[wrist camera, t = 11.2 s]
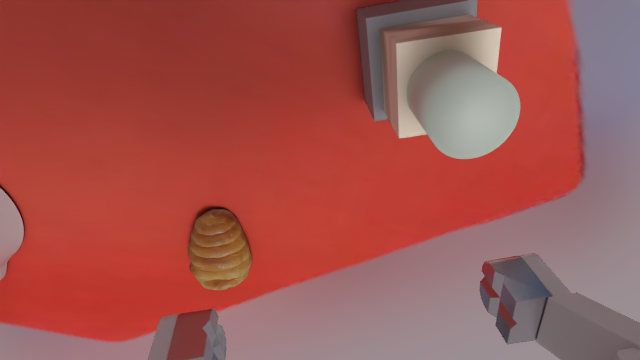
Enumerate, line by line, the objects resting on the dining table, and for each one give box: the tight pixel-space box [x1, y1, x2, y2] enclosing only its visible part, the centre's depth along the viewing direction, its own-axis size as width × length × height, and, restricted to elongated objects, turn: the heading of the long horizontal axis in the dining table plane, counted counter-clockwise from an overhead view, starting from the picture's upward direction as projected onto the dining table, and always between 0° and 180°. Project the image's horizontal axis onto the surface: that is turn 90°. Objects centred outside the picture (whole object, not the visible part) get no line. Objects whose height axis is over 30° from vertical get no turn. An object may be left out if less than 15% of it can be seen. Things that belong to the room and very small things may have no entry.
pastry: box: [188, 209, 252, 290], centre depth 42 cm, size 9×7×4 cm
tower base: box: [356, 0, 477, 121], centre depth 32 cm, size 8×8×5 cm
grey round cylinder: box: [407, 51, 520, 159], centre depth 23 cm, size 5×5×5 cm
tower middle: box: [380, 15, 502, 138], centre depth 28 cm, size 6×6×5 cm
